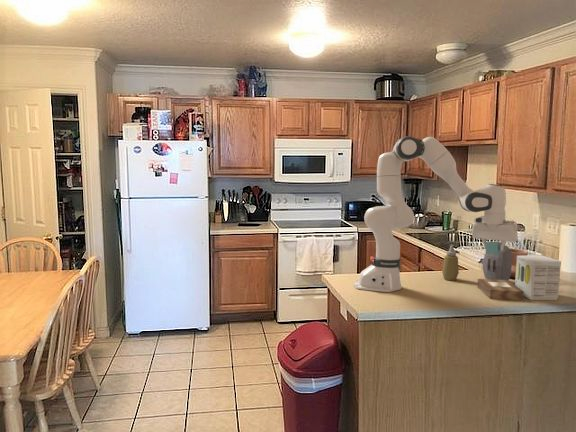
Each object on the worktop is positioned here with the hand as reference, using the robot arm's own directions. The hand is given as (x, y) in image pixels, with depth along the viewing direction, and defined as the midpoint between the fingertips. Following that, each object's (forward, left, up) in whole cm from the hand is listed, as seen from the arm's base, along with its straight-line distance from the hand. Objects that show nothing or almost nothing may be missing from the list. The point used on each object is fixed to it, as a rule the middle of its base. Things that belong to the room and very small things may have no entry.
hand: (493, 249), depth 216 cm
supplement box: (+19, -2, -21) cm, 28 cm away
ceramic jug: (+22, +36, -21) cm, 46 cm away
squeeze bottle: (-13, +23, -21) cm, 33 cm away
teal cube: (0, 0, -2) cm, 2 cm away
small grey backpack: (+9, +22, -21) cm, 31 cm away
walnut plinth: (+4, 0, -20) cm, 21 cm away
